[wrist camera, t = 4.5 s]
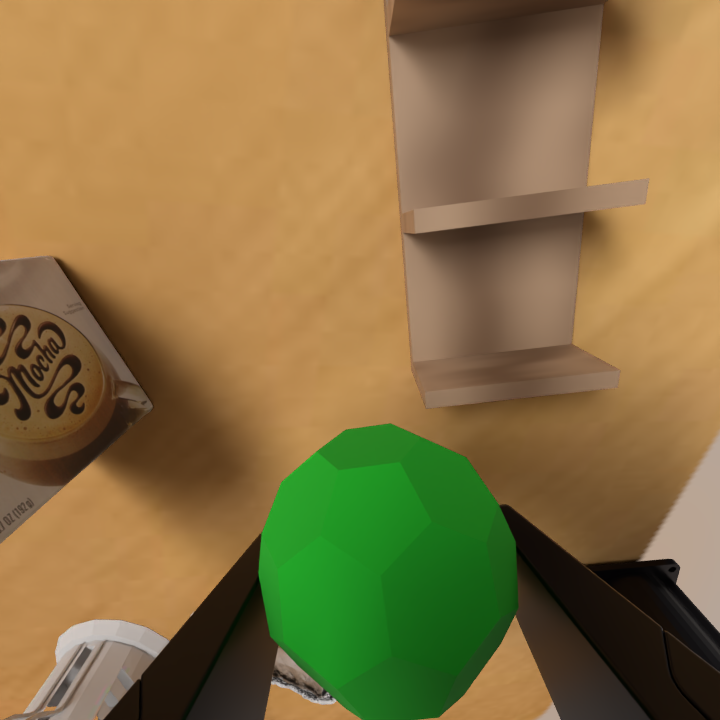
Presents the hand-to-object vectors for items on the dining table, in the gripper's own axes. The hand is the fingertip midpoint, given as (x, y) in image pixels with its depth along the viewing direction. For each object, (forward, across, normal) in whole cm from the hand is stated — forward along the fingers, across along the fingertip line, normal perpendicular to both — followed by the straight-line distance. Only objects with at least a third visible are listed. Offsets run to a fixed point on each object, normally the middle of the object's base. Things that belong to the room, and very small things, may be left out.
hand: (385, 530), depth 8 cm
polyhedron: (+2, 0, -1) cm, 2 cm away
